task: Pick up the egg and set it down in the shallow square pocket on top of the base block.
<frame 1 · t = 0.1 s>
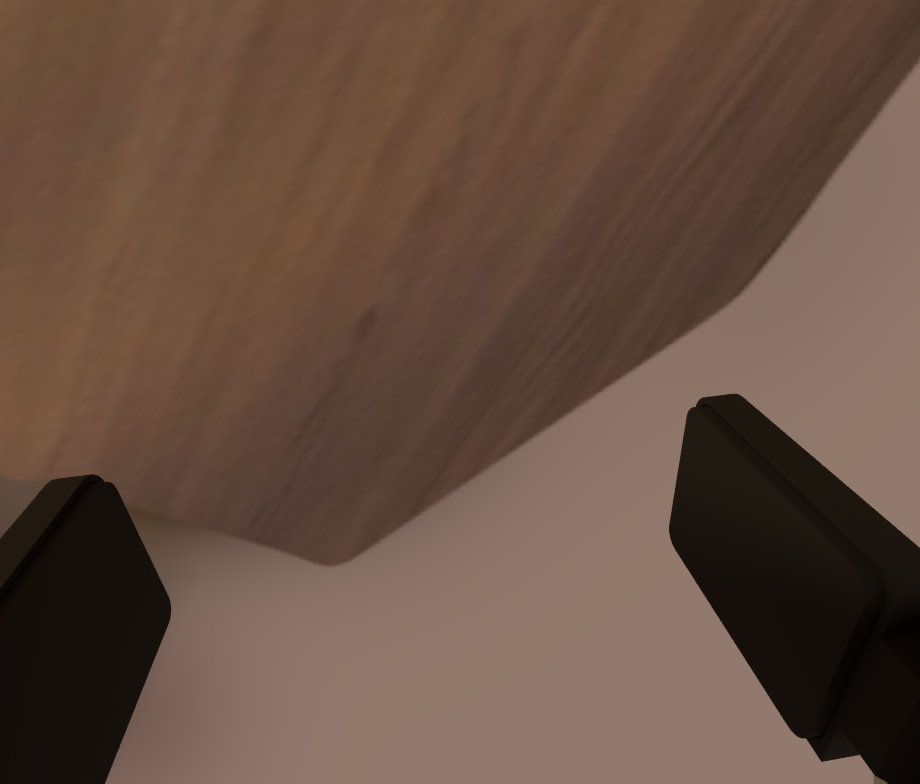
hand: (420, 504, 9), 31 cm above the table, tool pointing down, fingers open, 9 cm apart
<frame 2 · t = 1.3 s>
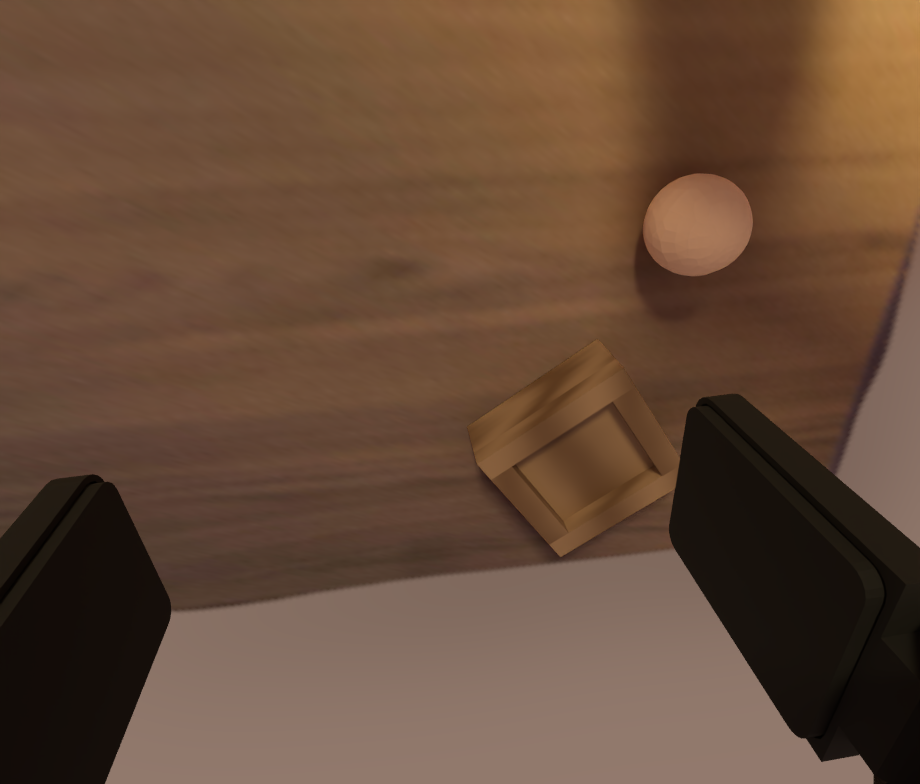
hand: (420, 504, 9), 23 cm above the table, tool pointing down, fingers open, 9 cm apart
egg: (668, 215, 31), on the table
base: (568, 434, 37), on the table
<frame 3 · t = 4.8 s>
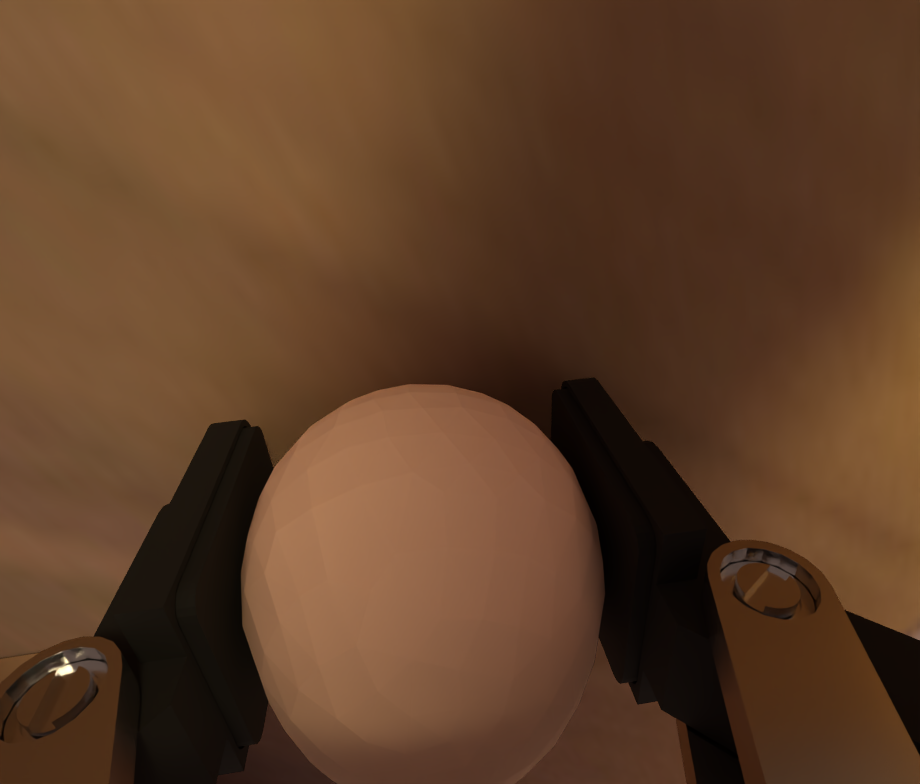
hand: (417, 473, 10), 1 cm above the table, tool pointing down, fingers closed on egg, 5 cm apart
egg: (415, 445, 11), on the table, touching gripper
when the fingers open (5 cm above the table, at t = 10.1 s): egg drops 1 cm, resting on base.
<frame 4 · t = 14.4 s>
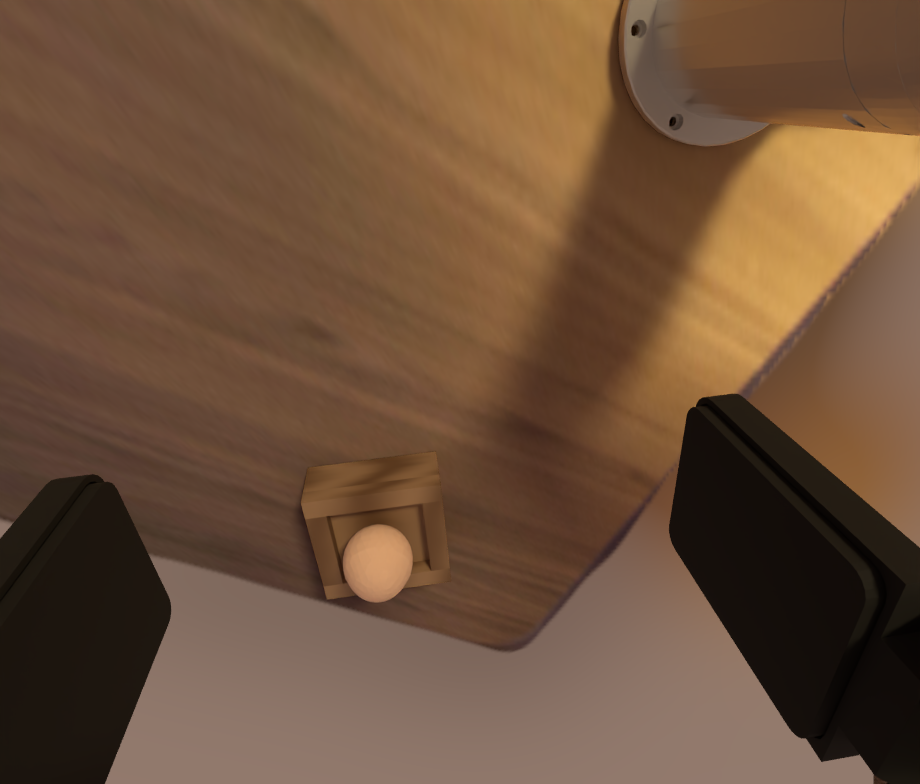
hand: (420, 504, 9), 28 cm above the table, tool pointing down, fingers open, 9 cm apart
egg: (378, 532, 43), point 3 cm above the table, touching base
base: (381, 508, 45), on the table
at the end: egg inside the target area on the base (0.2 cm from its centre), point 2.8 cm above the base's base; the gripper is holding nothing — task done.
